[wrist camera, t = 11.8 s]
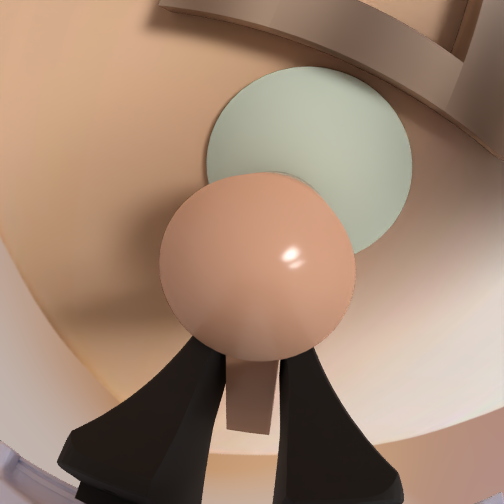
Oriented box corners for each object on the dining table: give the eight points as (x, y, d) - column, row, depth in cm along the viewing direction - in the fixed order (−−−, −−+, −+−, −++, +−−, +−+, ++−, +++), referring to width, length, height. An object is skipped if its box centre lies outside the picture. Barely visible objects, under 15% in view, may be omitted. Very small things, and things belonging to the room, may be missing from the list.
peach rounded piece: (218, 168, 13) (156, 172, 7) (335, 175, 12) (367, 183, 6) (216, 348, 15) (178, 431, 10) (312, 358, 15) (314, 450, 9)
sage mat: (440, 126, 10) (443, 127, 10) (353, 282, 15) (354, 286, 15) (246, 37, 10) (245, 36, 10) (187, 222, 15) (185, 224, 14)
